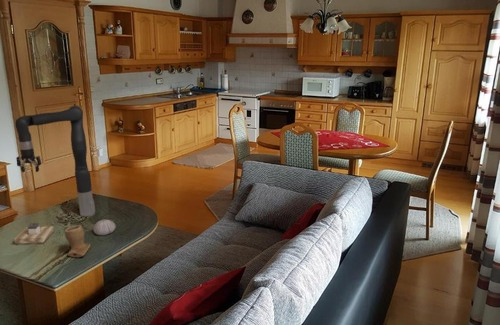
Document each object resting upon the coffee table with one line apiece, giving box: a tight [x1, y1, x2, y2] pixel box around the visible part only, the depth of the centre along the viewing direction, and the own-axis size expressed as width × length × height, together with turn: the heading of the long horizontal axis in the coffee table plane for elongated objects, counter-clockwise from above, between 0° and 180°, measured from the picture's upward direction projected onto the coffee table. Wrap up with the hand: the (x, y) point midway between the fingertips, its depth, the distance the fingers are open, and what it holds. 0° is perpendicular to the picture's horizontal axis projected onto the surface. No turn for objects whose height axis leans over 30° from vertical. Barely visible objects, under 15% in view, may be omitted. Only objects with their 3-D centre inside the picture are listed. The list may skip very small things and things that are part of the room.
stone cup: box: [64, 224, 91, 259], centre depth 229 cm, size 15×12×15 cm
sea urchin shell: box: [93, 219, 116, 236], centre depth 256 cm, size 13×14×8 cm
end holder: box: [14, 225, 55, 246], centre depth 248 cm, size 16×16×4 cm
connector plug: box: [27, 222, 41, 235], centre depth 247 cm, size 5×5×8 cm
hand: (30, 171), depth 265 cm, fingers open, 8 cm apart
